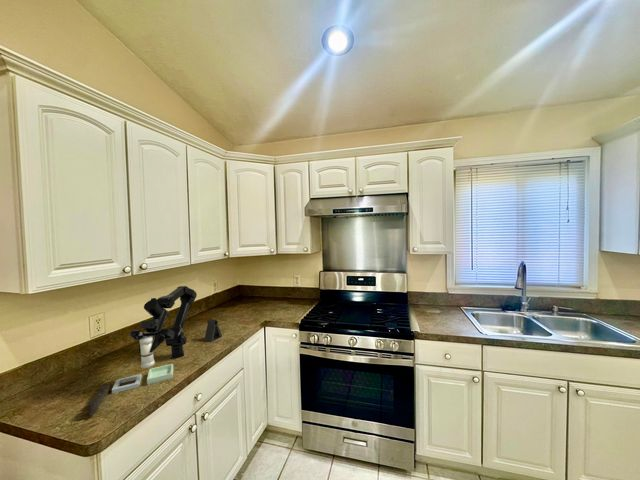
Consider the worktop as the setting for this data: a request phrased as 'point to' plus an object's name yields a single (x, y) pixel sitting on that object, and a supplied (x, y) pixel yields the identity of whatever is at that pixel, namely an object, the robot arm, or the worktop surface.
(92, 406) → the hand tool
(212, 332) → the phone stand
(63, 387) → the worktop surface
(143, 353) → the mushroom-shaped knob
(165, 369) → the parts tray
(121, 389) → the rectangular open frame
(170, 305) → the robot arm
